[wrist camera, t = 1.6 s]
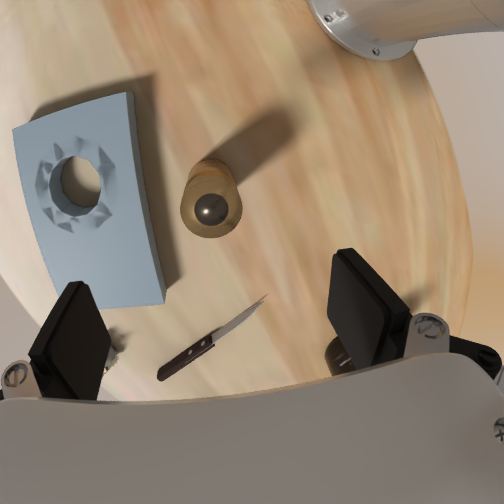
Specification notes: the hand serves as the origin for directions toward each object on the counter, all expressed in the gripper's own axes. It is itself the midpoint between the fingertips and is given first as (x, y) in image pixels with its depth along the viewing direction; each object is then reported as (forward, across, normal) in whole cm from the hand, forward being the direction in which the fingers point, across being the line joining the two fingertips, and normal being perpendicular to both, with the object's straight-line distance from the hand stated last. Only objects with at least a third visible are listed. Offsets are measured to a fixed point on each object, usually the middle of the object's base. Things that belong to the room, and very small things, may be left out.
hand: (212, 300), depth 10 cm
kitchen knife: (+18, +3, +19) cm, 26 cm away
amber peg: (+17, 0, 0) cm, 17 cm away
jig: (+17, +12, +1) cm, 21 cm away
